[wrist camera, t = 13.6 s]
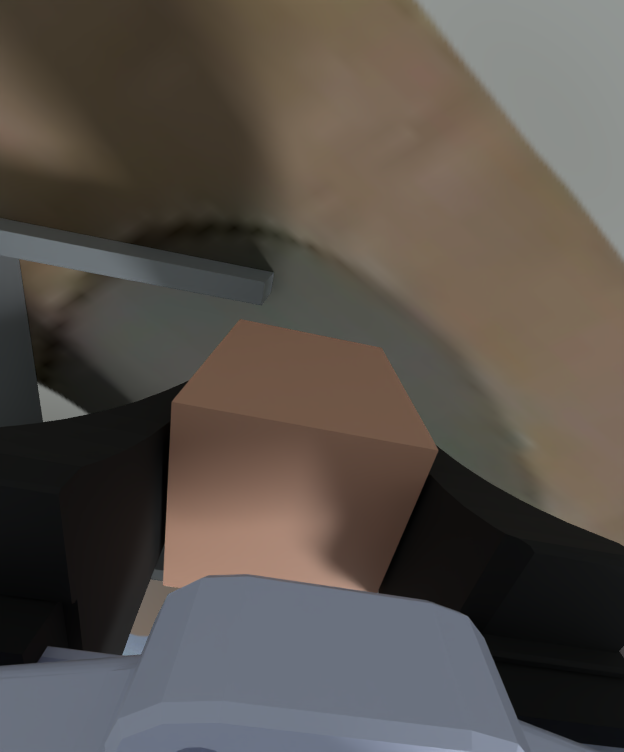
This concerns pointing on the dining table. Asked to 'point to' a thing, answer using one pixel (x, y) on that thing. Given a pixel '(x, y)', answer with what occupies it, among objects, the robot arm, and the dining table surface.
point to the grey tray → (101, 256)
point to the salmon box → (292, 462)
